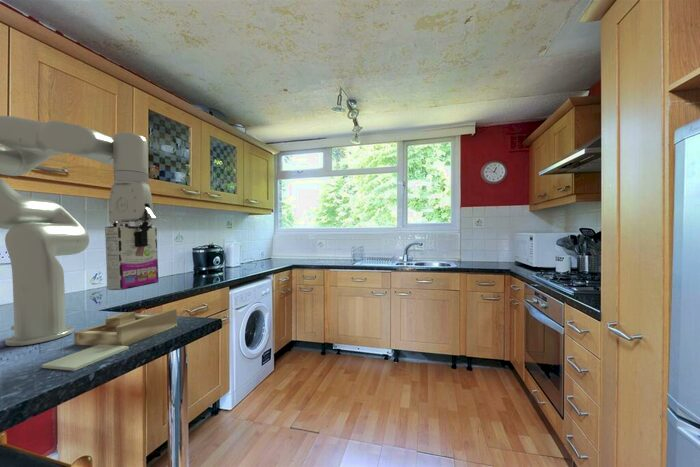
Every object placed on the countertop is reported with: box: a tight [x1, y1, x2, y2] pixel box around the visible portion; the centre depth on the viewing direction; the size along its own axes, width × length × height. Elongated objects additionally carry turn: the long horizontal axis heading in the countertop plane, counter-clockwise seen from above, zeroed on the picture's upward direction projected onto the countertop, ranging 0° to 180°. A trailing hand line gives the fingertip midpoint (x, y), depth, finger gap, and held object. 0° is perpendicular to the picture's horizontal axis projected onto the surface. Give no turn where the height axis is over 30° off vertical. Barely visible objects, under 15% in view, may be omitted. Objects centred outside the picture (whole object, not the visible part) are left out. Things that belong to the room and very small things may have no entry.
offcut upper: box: [105, 311, 136, 328], centre depth 79 cm, size 4×6×2 cm, turn 4°
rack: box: [73, 308, 178, 347], centre depth 78 cm, size 15×16×5 cm
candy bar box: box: [104, 225, 159, 291], centre depth 78 cm, size 11×5×16 cm, turn 168°
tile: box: [41, 344, 130, 372], centre depth 63 cm, size 9×11×1 cm
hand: (132, 246), depth 78 cm, fingers closed on candy bar box, 5 cm apart
